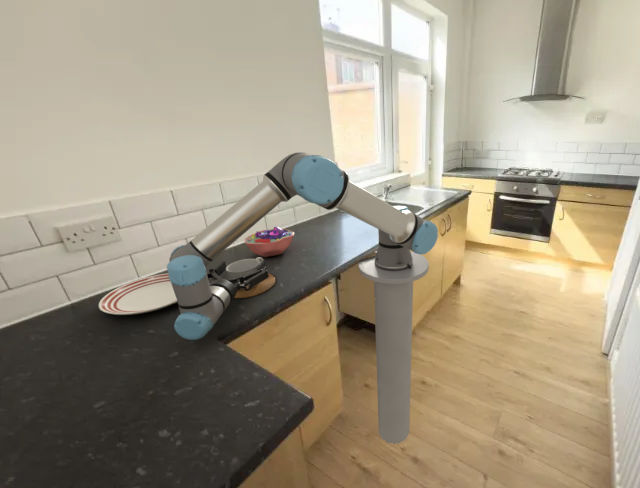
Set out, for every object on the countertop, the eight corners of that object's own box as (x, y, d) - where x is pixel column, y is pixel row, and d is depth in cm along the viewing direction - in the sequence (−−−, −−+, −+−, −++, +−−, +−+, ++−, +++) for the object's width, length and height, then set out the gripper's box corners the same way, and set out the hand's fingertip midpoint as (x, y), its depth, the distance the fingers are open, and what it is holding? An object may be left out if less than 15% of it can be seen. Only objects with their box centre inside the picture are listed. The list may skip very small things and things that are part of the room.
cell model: (242, 253, 137) (237, 228, 132) (287, 242, 148) (284, 219, 143) (254, 266, 124) (249, 239, 120) (302, 254, 135) (299, 229, 131)
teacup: (242, 296, 103) (237, 274, 100) (224, 287, 109) (218, 266, 106) (277, 279, 114) (274, 259, 110) (259, 271, 119) (255, 252, 116)
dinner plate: (122, 286, 111) (119, 277, 110) (208, 273, 119) (206, 265, 118) (84, 331, 88) (79, 321, 86) (195, 312, 96) (192, 303, 94)
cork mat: (286, 279, 115) (286, 278, 114) (245, 303, 100) (245, 302, 100) (251, 269, 122) (250, 268, 122) (208, 290, 108) (208, 289, 108)
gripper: (176, 309, 90) (210, 275, 110) (264, 306, 91) (283, 273, 110) (168, 286, 87) (205, 255, 107) (260, 283, 88) (280, 253, 107)
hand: (245, 264), depth 109 cm, fingers open, 13 cm apart
